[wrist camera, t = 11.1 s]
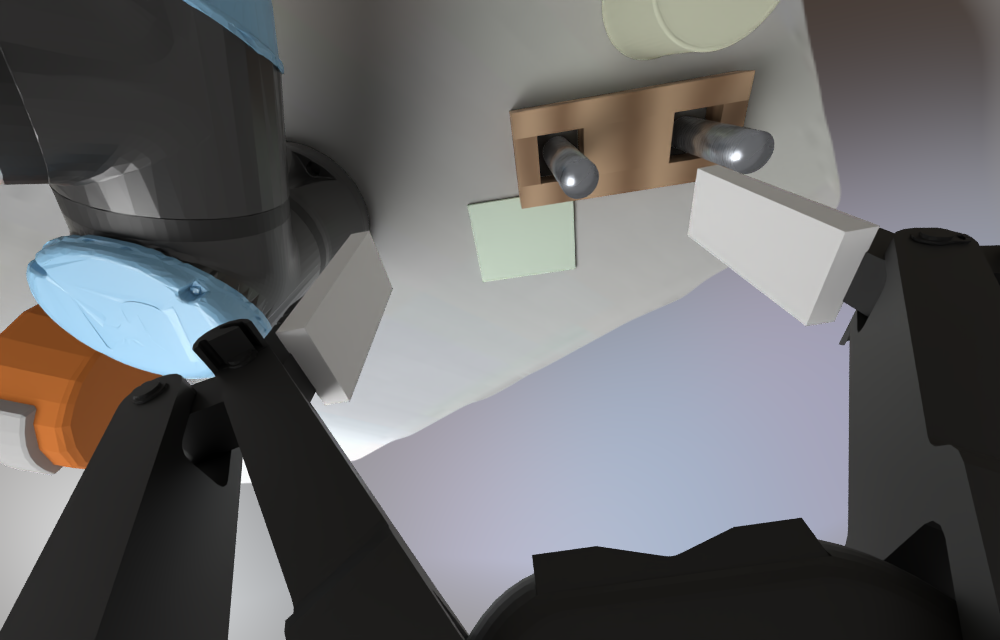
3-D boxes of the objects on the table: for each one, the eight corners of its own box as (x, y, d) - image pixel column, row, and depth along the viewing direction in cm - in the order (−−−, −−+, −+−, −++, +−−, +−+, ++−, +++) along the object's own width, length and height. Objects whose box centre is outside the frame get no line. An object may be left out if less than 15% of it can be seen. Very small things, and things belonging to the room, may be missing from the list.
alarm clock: (78, 279, 45) (-104, 369, 31) (159, 301, 47) (22, 394, 33) (114, 399, 57) (-6, 501, 43) (177, 412, 59) (82, 513, 45)
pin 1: (544, 169, 38) (561, 201, 29) (541, 138, 37) (559, 162, 27) (571, 164, 38) (599, 195, 28) (570, 133, 37) (599, 156, 27)
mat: (483, 280, 46) (482, 282, 46) (467, 204, 40) (467, 205, 40) (574, 267, 45) (575, 268, 45) (572, 188, 40) (572, 189, 39)
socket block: (519, 200, 40) (521, 208, 38) (509, 110, 35) (510, 113, 33) (717, 169, 39) (732, 175, 36) (736, 70, 34) (755, 70, 31)
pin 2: (666, 150, 38) (728, 176, 28) (669, 118, 36) (737, 134, 26) (695, 145, 37) (767, 170, 28) (699, 113, 36) (779, 127, 26)
